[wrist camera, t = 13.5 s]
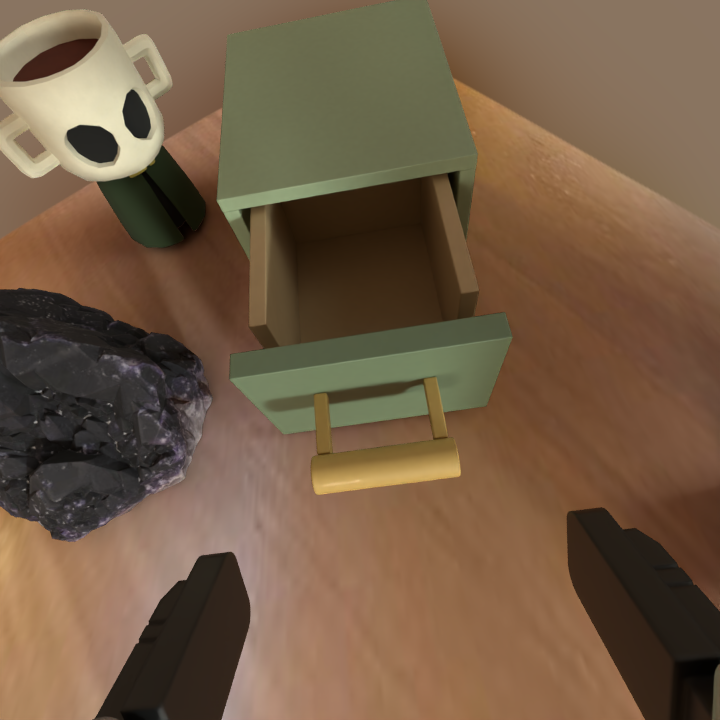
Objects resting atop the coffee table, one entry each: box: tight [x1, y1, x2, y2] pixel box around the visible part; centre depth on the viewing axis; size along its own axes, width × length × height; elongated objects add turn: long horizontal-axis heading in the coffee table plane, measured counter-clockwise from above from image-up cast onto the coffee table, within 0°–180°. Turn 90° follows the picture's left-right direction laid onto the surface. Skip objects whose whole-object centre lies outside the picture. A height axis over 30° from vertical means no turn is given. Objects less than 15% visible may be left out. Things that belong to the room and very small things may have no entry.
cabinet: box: [217, 0, 478, 260], centre depth 28 cm, size 15×13×10 cm
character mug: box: [0, 9, 205, 248], centre depth 29 cm, size 11×7×13 cm, turn 136°
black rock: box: [0, 288, 213, 542], centre depth 23 cm, size 13×14×10 cm
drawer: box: [229, 173, 512, 495], centre depth 23 cm, size 18×11×8 cm, turn 6°
